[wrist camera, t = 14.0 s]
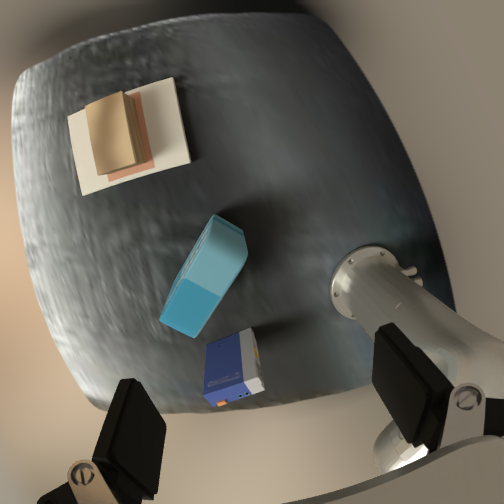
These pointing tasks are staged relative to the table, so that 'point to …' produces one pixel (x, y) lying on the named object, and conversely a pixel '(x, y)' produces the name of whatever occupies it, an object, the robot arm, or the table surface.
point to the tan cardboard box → (115, 133)
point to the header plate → (152, 132)
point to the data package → (205, 276)
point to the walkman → (232, 369)
